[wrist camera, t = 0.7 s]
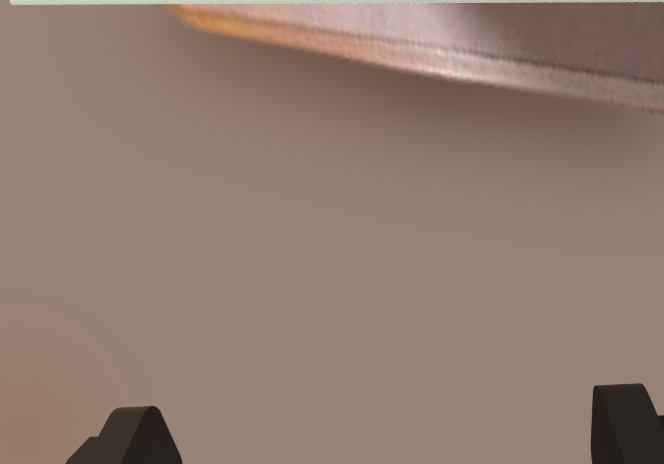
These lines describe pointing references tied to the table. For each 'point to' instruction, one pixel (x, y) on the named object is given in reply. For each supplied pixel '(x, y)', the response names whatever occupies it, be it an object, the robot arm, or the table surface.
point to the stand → (295, 1)
